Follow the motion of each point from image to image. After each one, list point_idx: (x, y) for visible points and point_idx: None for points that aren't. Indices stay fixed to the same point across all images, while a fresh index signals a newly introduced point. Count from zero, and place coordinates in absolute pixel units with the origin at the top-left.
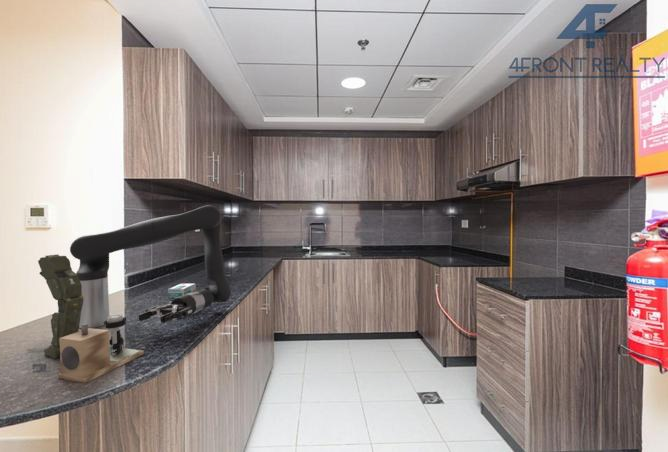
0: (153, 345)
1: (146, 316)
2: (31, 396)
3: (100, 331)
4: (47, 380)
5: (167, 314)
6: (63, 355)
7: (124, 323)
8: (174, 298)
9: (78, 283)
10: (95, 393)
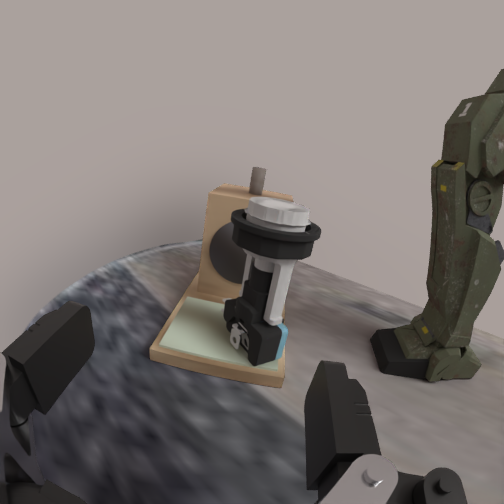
0: (157, 434)
1: (315, 434)
2: None
3: (228, 193)
4: (295, 282)
5: (40, 326)
6: None
7: (233, 233)
8: None
9: (469, 116)
10: (157, 251)
